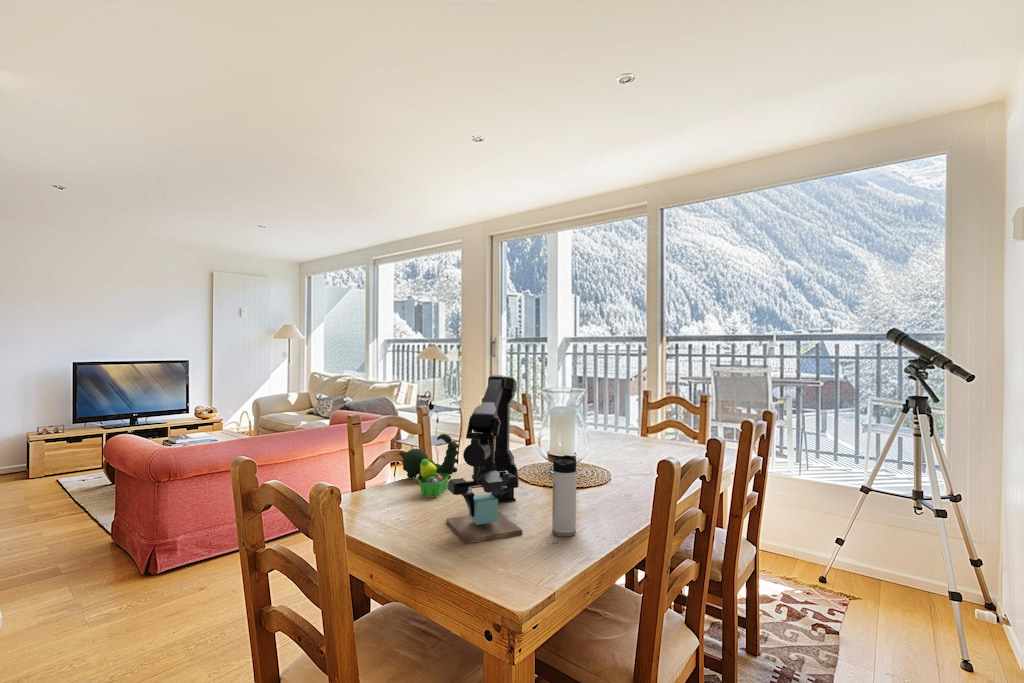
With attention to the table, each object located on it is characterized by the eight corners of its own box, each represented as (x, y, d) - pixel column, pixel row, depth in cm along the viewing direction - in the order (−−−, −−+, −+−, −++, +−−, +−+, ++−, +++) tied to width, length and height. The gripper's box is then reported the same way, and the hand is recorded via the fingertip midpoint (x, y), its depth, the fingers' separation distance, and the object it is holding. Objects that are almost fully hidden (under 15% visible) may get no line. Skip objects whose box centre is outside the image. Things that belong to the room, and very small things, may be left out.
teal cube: (489, 514, 140) (489, 493, 140) (497, 521, 134) (498, 499, 135) (469, 517, 137) (469, 495, 137) (476, 524, 132) (477, 502, 132)
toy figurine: (460, 486, 182) (405, 471, 193) (464, 434, 181) (409, 423, 192) (445, 493, 173) (389, 477, 184) (450, 439, 173) (393, 426, 183)
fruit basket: (439, 498, 162) (440, 463, 162) (413, 497, 163) (414, 462, 163) (450, 488, 173) (450, 456, 173) (425, 487, 174) (426, 454, 174)
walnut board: (498, 515, 147) (498, 511, 147) (522, 534, 132) (522, 529, 132) (446, 522, 140) (446, 518, 140) (464, 543, 125) (465, 539, 125)
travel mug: (578, 529, 136) (578, 456, 136) (573, 538, 130) (573, 461, 130) (555, 526, 138) (556, 454, 138) (549, 535, 132) (550, 459, 132)
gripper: (460, 467, 125) (460, 530, 125) (527, 461, 133) (527, 519, 133) (447, 458, 135) (447, 516, 135) (510, 452, 143) (509, 507, 143)
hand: (483, 514), depth 136 cm, fingers closed on teal cube, 6 cm apart
